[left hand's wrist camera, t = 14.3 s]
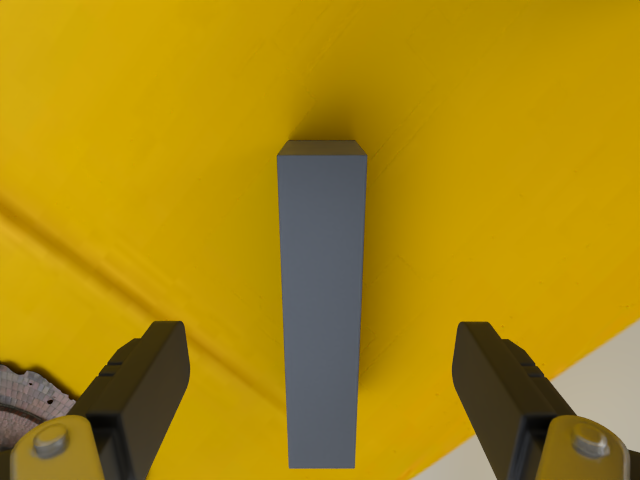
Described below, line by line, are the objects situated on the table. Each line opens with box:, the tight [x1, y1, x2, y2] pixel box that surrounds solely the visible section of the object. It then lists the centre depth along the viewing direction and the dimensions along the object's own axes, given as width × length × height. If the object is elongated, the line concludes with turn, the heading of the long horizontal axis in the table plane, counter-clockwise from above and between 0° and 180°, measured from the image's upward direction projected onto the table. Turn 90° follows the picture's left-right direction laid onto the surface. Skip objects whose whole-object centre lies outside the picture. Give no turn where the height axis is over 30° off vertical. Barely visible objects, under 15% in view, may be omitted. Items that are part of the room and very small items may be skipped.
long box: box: [277, 140, 367, 468], centre depth 34 cm, size 27×6×9 cm, turn 0°
